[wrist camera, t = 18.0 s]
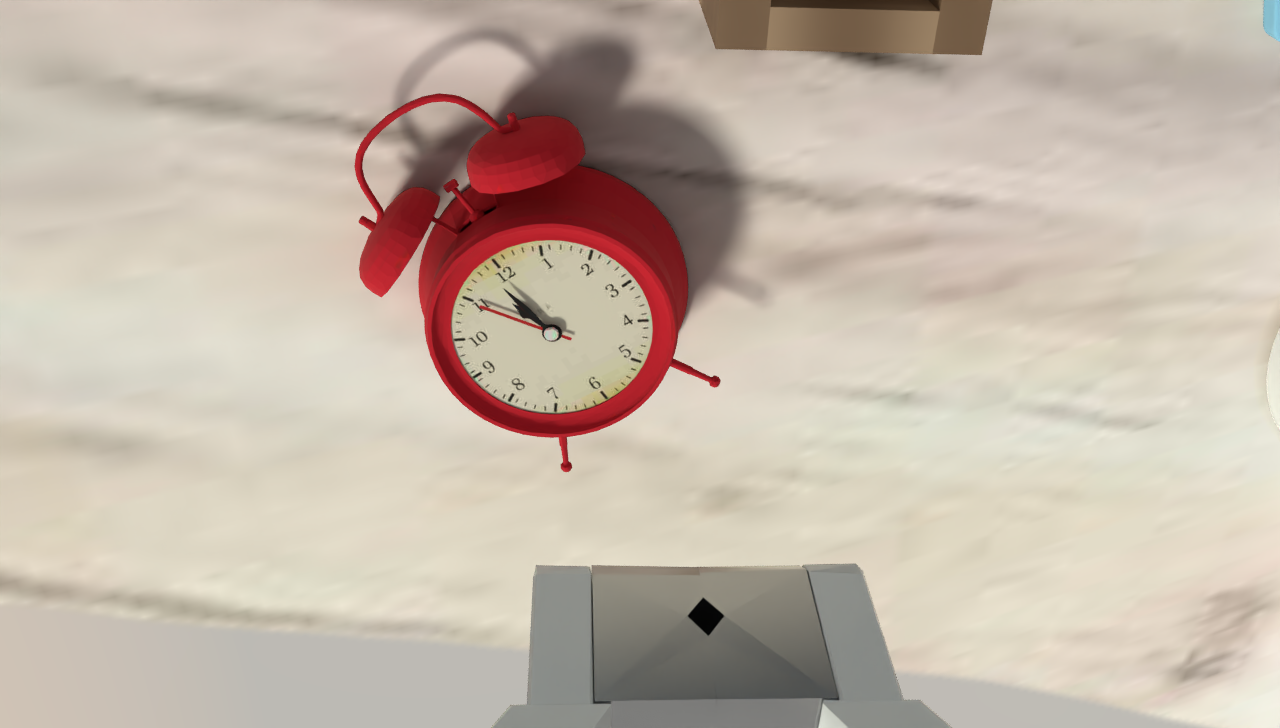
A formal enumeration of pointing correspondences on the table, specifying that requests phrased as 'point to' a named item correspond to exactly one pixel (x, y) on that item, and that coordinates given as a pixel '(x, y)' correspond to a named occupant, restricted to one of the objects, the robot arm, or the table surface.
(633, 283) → the alarm clock
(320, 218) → the table surface
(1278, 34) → the chair
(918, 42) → the box
